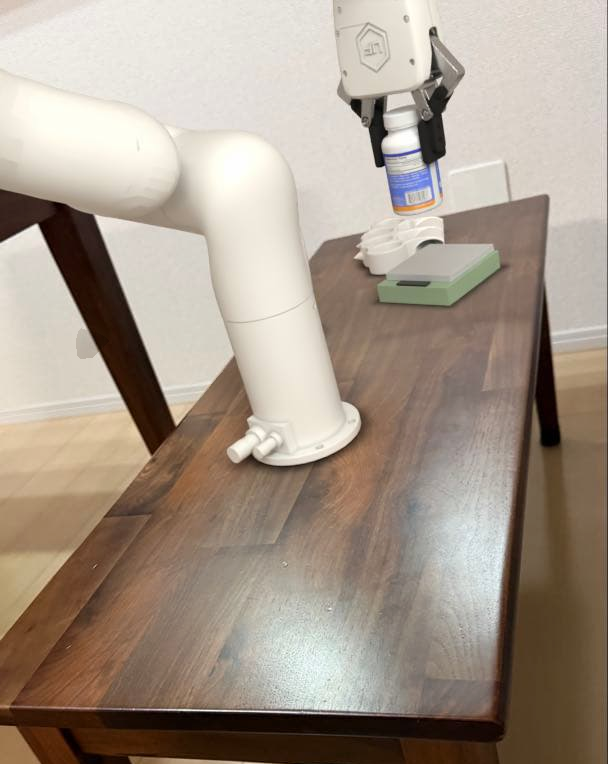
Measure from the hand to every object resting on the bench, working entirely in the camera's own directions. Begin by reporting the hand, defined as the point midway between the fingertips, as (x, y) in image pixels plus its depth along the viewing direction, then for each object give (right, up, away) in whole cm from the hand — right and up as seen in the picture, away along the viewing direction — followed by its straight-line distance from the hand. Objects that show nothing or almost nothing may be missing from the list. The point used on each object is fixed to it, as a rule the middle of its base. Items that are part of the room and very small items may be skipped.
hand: (410, 159), depth 87 cm
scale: (+9, -2, +34) cm, 35 cm away
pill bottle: (+1, -4, +3) cm, 5 cm away
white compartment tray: (+5, +7, +50) cm, 50 cm away
